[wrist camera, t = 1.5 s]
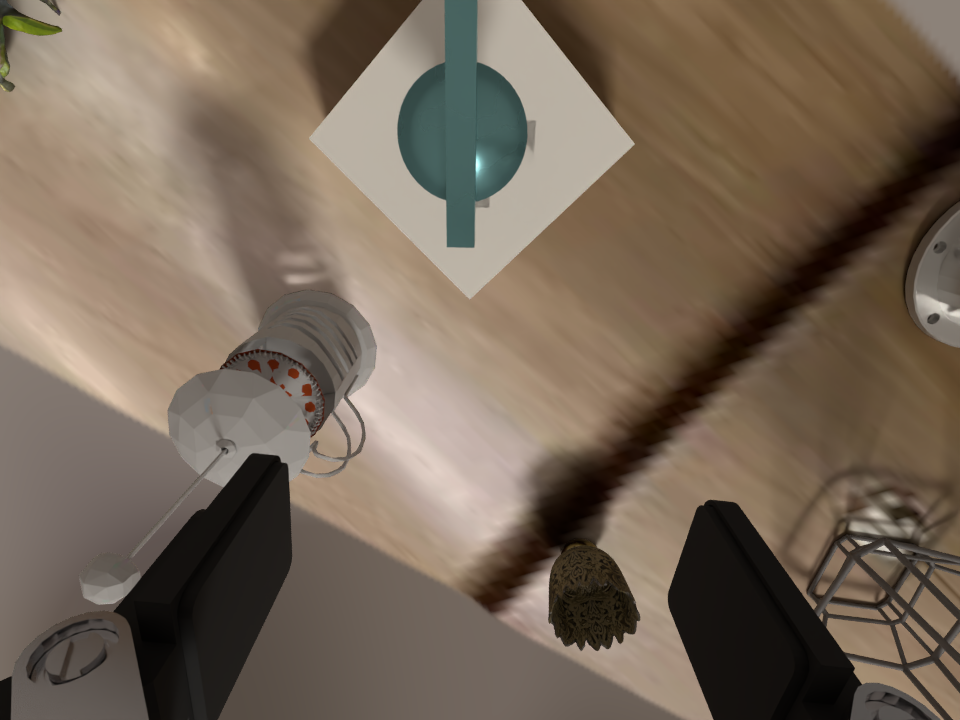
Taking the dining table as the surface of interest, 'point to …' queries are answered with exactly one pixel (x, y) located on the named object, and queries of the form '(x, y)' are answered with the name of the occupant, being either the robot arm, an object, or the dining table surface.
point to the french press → (260, 407)
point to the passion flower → (11, 18)
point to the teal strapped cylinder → (462, 126)
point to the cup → (589, 597)
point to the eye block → (549, 151)
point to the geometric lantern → (921, 555)
